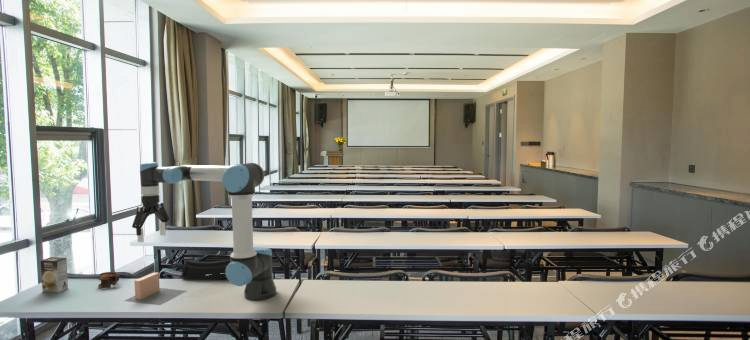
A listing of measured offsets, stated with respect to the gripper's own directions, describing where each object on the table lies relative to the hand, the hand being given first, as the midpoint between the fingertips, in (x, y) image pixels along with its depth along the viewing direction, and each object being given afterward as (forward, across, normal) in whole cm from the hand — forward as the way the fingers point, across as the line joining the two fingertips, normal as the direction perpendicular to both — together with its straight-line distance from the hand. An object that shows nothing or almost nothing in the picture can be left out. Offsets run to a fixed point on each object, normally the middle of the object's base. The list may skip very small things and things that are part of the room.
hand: (152, 238), depth 202 cm
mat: (+28, +2, +3) cm, 28 cm away
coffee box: (+28, +8, -53) cm, 61 cm away
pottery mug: (+28, -4, -33) cm, 44 cm away
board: (+27, +2, -2) cm, 28 cm away
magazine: (+28, -28, +11) cm, 41 cm away
